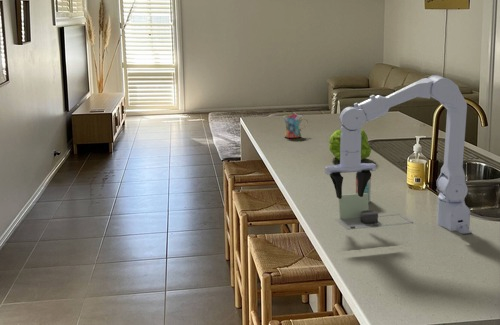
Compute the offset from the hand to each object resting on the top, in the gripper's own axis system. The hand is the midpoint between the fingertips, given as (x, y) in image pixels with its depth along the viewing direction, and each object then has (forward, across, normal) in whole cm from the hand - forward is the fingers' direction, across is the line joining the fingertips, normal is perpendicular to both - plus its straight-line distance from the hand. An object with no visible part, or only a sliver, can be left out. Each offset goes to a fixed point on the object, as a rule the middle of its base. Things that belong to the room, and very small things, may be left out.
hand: (349, 196), depth 185 cm
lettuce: (+10, -33, -86) cm, 93 cm away
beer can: (+10, -13, -21) cm, 27 cm away
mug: (+10, -26, -138) cm, 141 cm away
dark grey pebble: (+8, -7, -2) cm, 11 cm away
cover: (+5, -4, -6) cm, 9 cm away
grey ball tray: (+10, -8, -1) cm, 13 cm away
